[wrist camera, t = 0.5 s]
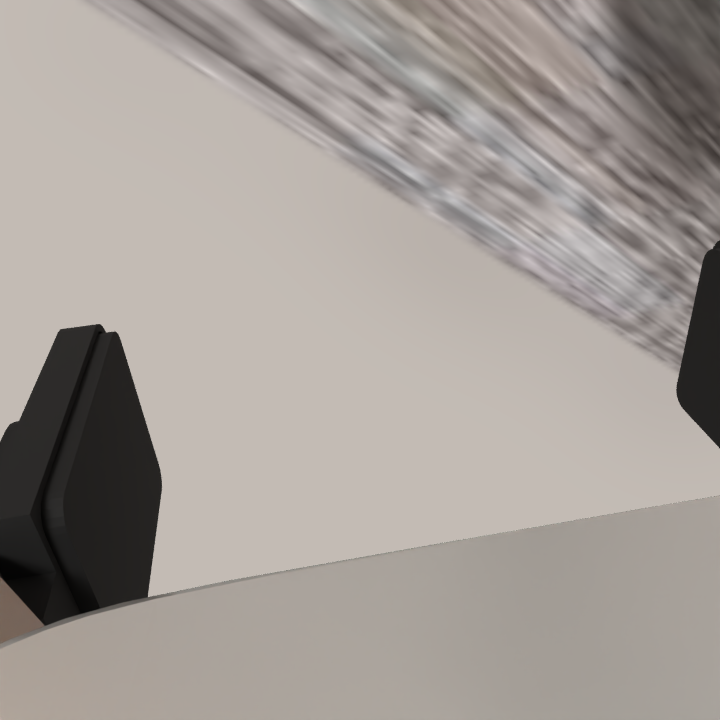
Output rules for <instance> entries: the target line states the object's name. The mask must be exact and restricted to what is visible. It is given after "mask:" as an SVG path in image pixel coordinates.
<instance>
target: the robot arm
mask: <svg viewBox="0 0 720 720" xmlns="http://www.w3.org/2000/svg"><path fill="white" fill-rule="evenodd" d="M676 390H677V397H678V401H679V403H680V405H681V407H682V408H683V409H684V410H685V411H686V412H687V413H688V414H689V416H690V417H691V418H692V419H693V420H694V421H695V422H696V423H697V424H698V425H699V426H700V427H701V428H702V430H703V431H704V432H705V433H706V434H707V435H708V436H709V437H710V438H711V439H712V440H713V441H714V442H715V444H716V445H717V446H718V447H719V448H720V241H718V242H717V243H716V244H715V246H714V247H713V249H711V250H709V251H708V252H707V253H706V255H705V257H704V260H703V264H702V268H701V273H700V278H699V283H698V287H697V292H696V297H695V302H694V306H693V311H692V316H691V321H690V325H689V330H688V335H687V339H686V344H685V349H684V354H683V358H682V363H681V368H680V373H679V377H678V382H677V389H676ZM161 491H162V480H161V473H160V468H159V464H158V461H157V458H156V454H155V451H154V448H153V444H152V441H151V438H150V434H149V431H148V428H147V425H146V421H145V418H144V415H143V412H142V409H141V405H140V402H139V399H138V395H137V392H136V389H135V385H134V382H133V379H132V376H131V372H130V369H129V366H128V363H127V359H126V356H125V353H124V350H123V346H122V343H121V340H120V337H119V335H118V334H117V332H108V333H106V332H105V330H104V328H103V326H101V325H100V324H96V325H90V326H82V327H74V328H67V329H61V330H60V331H59V332H58V334H57V336H56V338H55V341H54V343H53V345H52V348H51V350H50V352H49V354H48V357H47V359H46V361H45V364H44V366H43V368H42V370H41V373H40V375H39V377H38V379H37V382H36V384H35V386H34V388H33V391H32V393H31V395H30V398H29V400H28V402H27V404H26V407H25V409H24V411H23V413H22V416H21V418H20V420H19V421H18V422H14V423H12V424H10V425H9V426H8V428H7V429H6V431H5V433H4V435H3V437H2V439H1V441H0V720H720V496H714V497H708V498H702V499H696V500H691V501H685V502H679V503H673V504H667V505H662V506H655V507H649V508H644V509H638V510H631V511H626V512H620V513H614V514H608V515H603V516H597V517H591V518H585V519H580V520H574V521H568V522H562V523H557V524H551V525H545V526H539V527H533V528H527V529H522V530H516V531H510V532H505V533H498V534H492V535H487V536H481V537H475V538H470V539H463V540H457V541H452V542H446V543H440V544H434V545H428V546H422V547H417V548H411V549H406V550H400V551H394V552H388V553H383V554H377V555H372V556H366V557H360V558H355V559H349V560H343V561H337V562H332V563H326V564H320V565H315V566H309V567H303V568H298V569H292V570H286V571H281V572H275V573H270V574H263V575H258V576H252V577H247V578H241V579H235V580H229V581H224V582H220V583H215V584H210V585H205V586H200V587H195V588H191V589H186V590H181V591H177V592H171V593H167V594H162V595H157V596H152V597H148V590H149V582H150V575H151V566H152V559H153V552H154V544H155V536H156V529H157V521H158V513H159V506H160V499H161Z"/></svg>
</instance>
